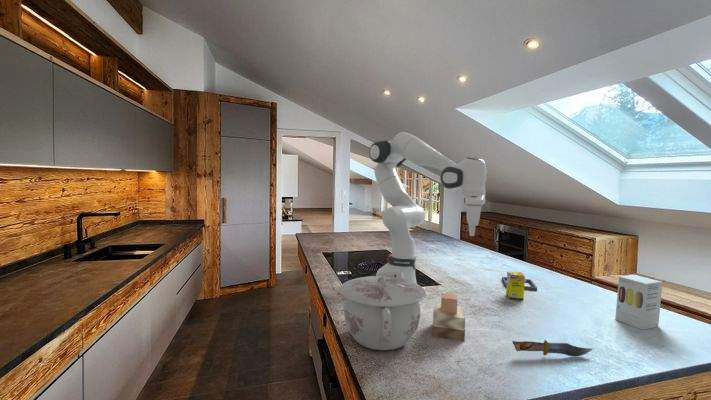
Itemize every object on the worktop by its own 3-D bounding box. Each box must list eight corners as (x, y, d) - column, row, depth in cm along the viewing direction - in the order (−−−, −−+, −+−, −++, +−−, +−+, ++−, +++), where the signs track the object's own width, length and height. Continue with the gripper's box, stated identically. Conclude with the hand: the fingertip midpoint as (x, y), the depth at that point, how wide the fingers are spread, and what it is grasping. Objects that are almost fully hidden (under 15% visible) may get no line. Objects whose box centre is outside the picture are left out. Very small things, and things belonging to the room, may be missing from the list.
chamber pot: (372, 314, 126) (373, 261, 124) (439, 337, 108) (441, 275, 107) (319, 342, 104) (319, 277, 103) (392, 376, 87) (394, 299, 85)
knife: (591, 355, 99) (592, 339, 99) (594, 357, 98) (595, 341, 97) (510, 355, 98) (511, 339, 98) (512, 357, 97) (513, 341, 97)
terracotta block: (441, 312, 110) (441, 298, 110) (440, 306, 115) (441, 292, 115) (456, 314, 109) (457, 299, 109) (455, 308, 114) (456, 294, 114)
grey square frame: (505, 287, 160) (505, 284, 160) (501, 279, 173) (502, 276, 173) (537, 290, 156) (537, 287, 156) (530, 282, 169) (530, 279, 169)
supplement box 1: (523, 300, 143) (525, 275, 143) (509, 299, 145) (510, 274, 144) (519, 295, 149) (521, 271, 148) (505, 294, 150) (506, 271, 150)
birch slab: (432, 326, 109) (433, 314, 109) (434, 314, 119) (434, 303, 118) (464, 330, 106) (465, 318, 106) (463, 318, 116) (463, 306, 116)
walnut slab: (432, 337, 109) (433, 326, 109) (433, 325, 119) (434, 314, 118) (464, 342, 106) (464, 330, 106) (463, 329, 116) (463, 317, 116)
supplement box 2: (614, 319, 125) (617, 275, 124) (629, 316, 128) (633, 273, 127) (643, 330, 116) (647, 283, 115) (659, 326, 120) (663, 281, 118)
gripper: (464, 197, 140) (462, 229, 141) (465, 200, 121) (463, 237, 122) (479, 197, 139) (478, 230, 140) (483, 201, 119) (481, 238, 120)
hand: (471, 233), depth 131 cm, fingers open, 8 cm apart
